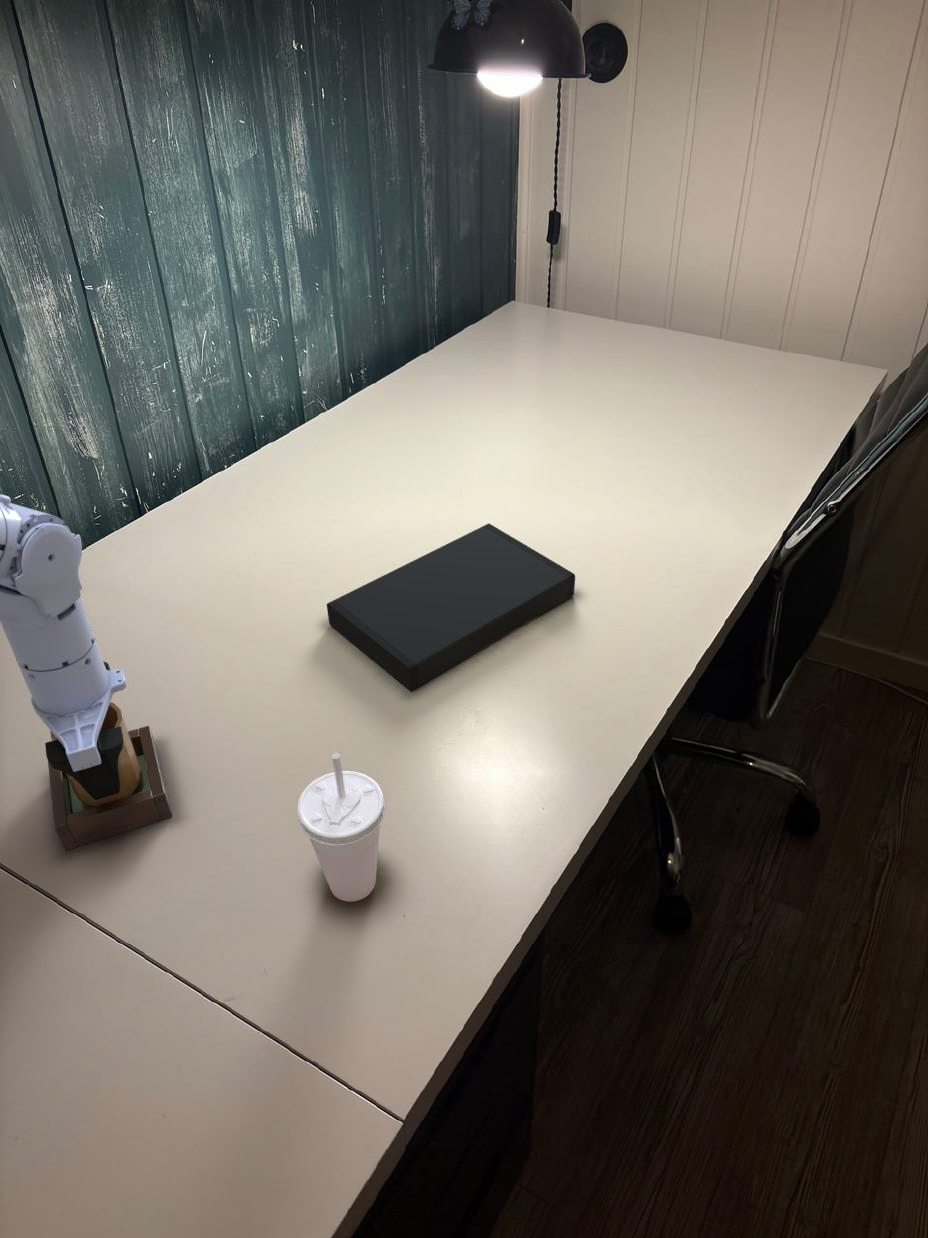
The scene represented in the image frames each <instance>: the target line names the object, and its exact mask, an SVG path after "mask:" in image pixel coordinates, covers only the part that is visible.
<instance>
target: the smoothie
mask: <svg viewBox="0 0 928 1238" xmlns="http://www.w3.org/2000/svg"><path fill="white" fill-rule="evenodd" d="M331 755H332V756H331V758H332V765H333V772H329V773H326V774H324V775H323V774H322V775H321V776H320V777H317V778H316V779H314V780H313V781H311V782H310V783H309V784H308V785H307V786H306V787H305V788H304V790H303V791H302V793H301V794H300V796H299V798H298V802H297V818H298V819H297V820H298V823H299V827H300V829H301V830H302V832H303V833H304V834H305V835H306V836H307V837H308V838H309V840H310V843H311V846H312V847H313V850H314V852H315V855H316V857H317V860H318V862H319V865H320V867H321V870H322V872H323V875H324V877H325V879H326V882H327V885H328V887H329V890H330V892H331V894H332V895H333V896H334V897H335V898H337V899H338V900H340V901H343V902H348V903H352V902H358V901H362V900H363V899H365V898H366V897H368V896H369V895H370V894H371V893H372V891H374V888H375V886H376V883H377V870H378V855H379V843H380V842H379V841H380V828H381V824H382V821H383V819H384V816H385V813H386V803H385V800H384V794H383V790H382V789H381V787H380V785H379V783H377V782H376V781H375V780H374V779H373V778H372V777H371V776H369V775H367V774H364V773H362V772H358V771H352V770H343V767H342V759H341V754H340V753H339V752H337V753H336V752H335V753H333V754H331Z"/></svg>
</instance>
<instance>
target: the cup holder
mask: <svg viewBox="0 0 928 1238" xmlns="http://www.w3.org/2000/svg"><path fill="white" fill-rule="evenodd" d="M128 731H129V734H130V737H131V740H132V743H133V745H134V748H135V751H136V754H137V757H138V760H139V763H140V767H141V770H142V778H141V781H140V784H139V785H138V787H137V788H136V789H135V790H134V792H133V793H131V794H130V795H129V796H128V797H124V798H121V799H118V800H115V801H111V802H108V803H105V804H102V805H99V806H91V805H87V804H85V803H83V802H81V801H80V800H79V799H78V798H77V796H76V794H75V793H74V791H73V789H72V786H71V784H70V782H69V779H68V777H67V775H66V773H65V772H62V771H60V770H57V769H54V768H53V767H52V766H51V765H50V763H49V761H48V760H47V766H48V775H49V776H48V777H49V786H50V796H51V806H52V817H53V826H54V830H55V832H56V834H57V836H58V839H59V840H60V843H61V846H62V847H63V849H64V851H66V852H67V851H69V850H73V849H75V848H78V847H82V846H84V845H88V844H91V843H95V842H97V841H100V840H104V839H107V838H111V837H113V836H116V835H120V834H122V833H125V832H128V831H132V830H135V829H139V828H142V827H144V826H148V825H150V824H153V823H157V822H159V821H163V820H166V819H169V818H172V817H173V812H172V808H171V803H170V798H169V795H168V789H167V786H166V781H165V779H164V773H163V769H162V765H161V760H160V756H159V751H158V748H157V744H156V741H155V738H154V735H153V732H152V729H151V726H150V725H146V726H142V727H139V728H135V729H131V730H128Z"/></svg>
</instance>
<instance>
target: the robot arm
mask: <svg viewBox="0 0 928 1238" xmlns="http://www.w3.org/2000/svg"><path fill="white" fill-rule="evenodd" d="M11 501H12V499H11V497H10V496H8V495H5V494H2V493H0V625H1V627H2V629H3V632H4V635H5V637H6V639H7V642H8V644H9V646H10V649H11V651H12V653H13V655H14V658H15V661H16V664H17V666H18V668H19V670H20V672H21V675H22V676H23V680H24V682H25V684H26V687H27V689H28V691H29V693H30V695H31V698H30V700H31V705H32V708H33V710H34V712H35V713H36V715H37V716H38V718H40V720H41V721H42V722H43V724H45V726H46V727H47V728H48V730H49V731H50V730H51V732H52V733H53V734H54V735H55V736H56V738H57V740H54V741H52V740H50V741H46V742H45V743H44V746H45V747H44V748H45V754H46V760H47V762H48V761H49V763H50V765H51V766H52V767H53V768H54V769H57V770H60V771H62V772H65V773H67V774H68V775H70V776H71V777H73V778H74V779H75V780H76V781H77V782H78V783H79V784H80V785H81V786H82V787H83V788H84V790H85V791H86V792H87V793H88V794H89V795H90V796H91V797H92V798H93V799H94V800H98V799H101V798H105V797H108V796H111V795H114V794H118V793H119V792H120V779H119V771H118V759H119V755H120V752H121V751H122V749H123V740H124V739H123V733H122V728H121V726H119V727H116V728H112V729H109V730H105V731H102V732H100V730H101V727H102V724H103V721H104V718H105V715H106V712H107V710H108V707H109V704H110V702H111V701H112V698H113V695H114V694H115V693H119V692H121V691H123V690H125V689H126V688H127V685H128V684H127V679H126V675H125V672H124V671H123V669H121V668H116V669H112V670H111V668H110V665H109V663H108V662H106V661H104V660H103V656H102V654H101V651H100V648H99V645H98V643H97V640H96V637H95V633H94V630H93V628H92V626H91V622H90V620H89V616H88V614H87V611H86V608H85V606H84V602H83V599H82V597H81V596H82V595H81V594H82V593H81V590H83V585H82V583H81V580H80V576H79V570H80V568H79V567H80V565H81V561H82V554H83V543H82V539H81V535H80V534H75V533H73V532H72V531H71V529H70V526H68V525H66V524H65V523H66V522H65V521H64V520H63V519H61V518H60V517H58V516H56V515H55V514H54V515H53V514H50V513H47V512H44V511H39V510H36V509H33V508H29V507H26V506H22V505H19V504H16V503H13V502H11Z"/></svg>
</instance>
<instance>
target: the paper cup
mask: <svg viewBox="0 0 928 1238" xmlns="http://www.w3.org/2000/svg"><path fill="white" fill-rule="evenodd" d="M119 726H121V728H122V733H123V739H124V740H123V749H122V751H121V752H120V755H119V759H118V771H119V779H120V792H119V793H118V794H114V795H111V796H108V797H105V798H101V799H98V800H94V799H93V798H92V797H91V796H90V795H89V794H88V793H87V792H86V791H85V790H84V788H83V787H82V786H81V785H80V784H79V783H78V782H77V781H76V780H75V779H74V778H73V777H71V776H70V775H68V774H67V773H66V775H67V777H68V779H69V782H70V784H71V786H72V789H73V791H74V793H75V794H76V796H77V798H78V799H79V800H80V801H81V802H83V803H85V804H87V805H91V806H99V805H102V804H105V803H108V802H111V801H115V800H118V799H121V798H124V797H128V796H129V795H130V794H131V793H133V792H134V790H135V789H136V788H137V787H138V785H139V784H140V781H141V778H142V770H141V767H140V763H139V760H138V757H137V754H136V751H135V748H134V745H133V743H132V740H131V737H130V734H129V731H130V730H129V728H128V725H127V723H126V720H125V717H124V714H123V711H122V709H121V708H120V707H119V706H118V705H117V704H116V703H114V702H111V701H110V704H109V707H108V710H107V712H106V715H105V718H104V721H103V724H102V727H101V730H100V732H102V731H105V730H109V729H112V728H116V727H119ZM49 731H50V733H49V734H50V739H51V741H54V740H57V738H56V736H55V735H54V734H53V733H52V732H51V730H50V729H49Z"/></svg>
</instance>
